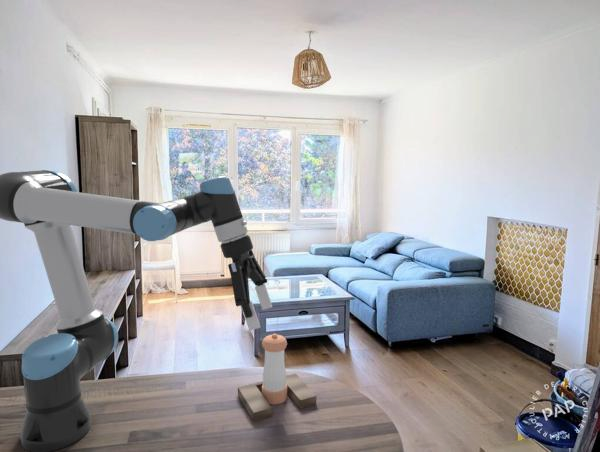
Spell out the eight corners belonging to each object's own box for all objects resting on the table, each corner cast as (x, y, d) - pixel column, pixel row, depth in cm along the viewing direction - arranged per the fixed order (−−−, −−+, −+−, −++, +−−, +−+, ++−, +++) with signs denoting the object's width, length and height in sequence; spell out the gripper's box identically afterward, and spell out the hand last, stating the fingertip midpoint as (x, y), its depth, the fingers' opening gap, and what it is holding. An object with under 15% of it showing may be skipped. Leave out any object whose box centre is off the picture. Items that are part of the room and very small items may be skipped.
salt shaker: (267, 388, 126) (267, 327, 122) (290, 393, 123) (291, 331, 120) (257, 401, 119) (257, 337, 116) (281, 406, 116) (281, 341, 113)
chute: (237, 395, 122) (237, 387, 121) (295, 381, 130) (295, 373, 129) (253, 421, 110) (253, 412, 110) (316, 404, 118) (316, 395, 118)
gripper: (233, 244, 91) (264, 334, 94) (260, 225, 116) (284, 297, 118) (201, 254, 93) (233, 342, 95) (235, 233, 117) (259, 304, 120)
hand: (261, 318), depth 107 cm, fingers open, 13 cm apart
